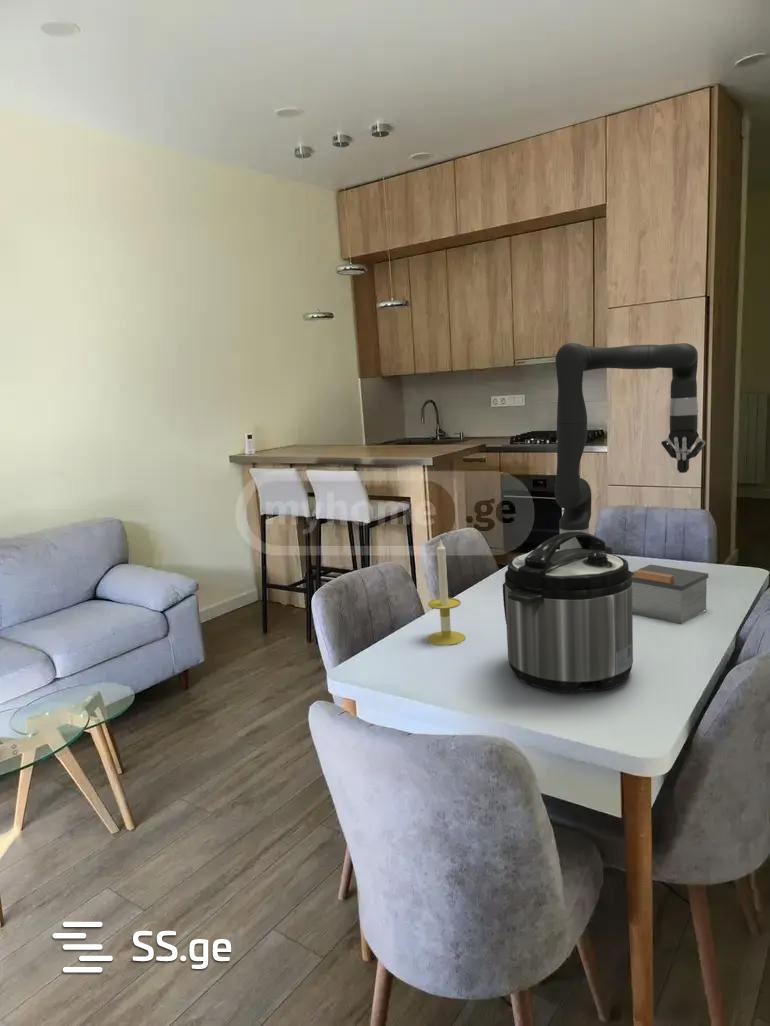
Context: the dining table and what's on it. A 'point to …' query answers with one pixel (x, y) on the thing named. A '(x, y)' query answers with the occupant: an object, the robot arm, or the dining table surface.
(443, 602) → the candle
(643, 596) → the grey metal box
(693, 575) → the lid
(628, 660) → the pressure cooker
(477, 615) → the dining table surface
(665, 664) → the dining table surface
